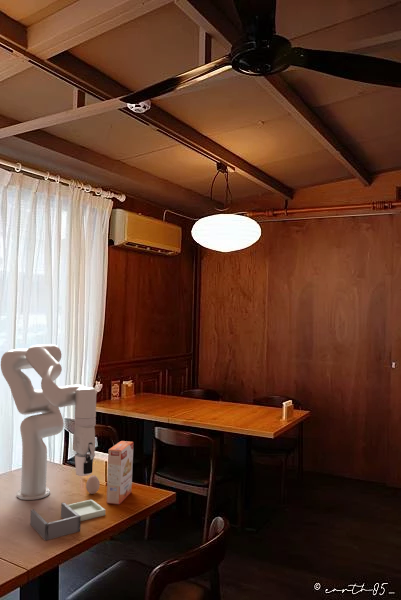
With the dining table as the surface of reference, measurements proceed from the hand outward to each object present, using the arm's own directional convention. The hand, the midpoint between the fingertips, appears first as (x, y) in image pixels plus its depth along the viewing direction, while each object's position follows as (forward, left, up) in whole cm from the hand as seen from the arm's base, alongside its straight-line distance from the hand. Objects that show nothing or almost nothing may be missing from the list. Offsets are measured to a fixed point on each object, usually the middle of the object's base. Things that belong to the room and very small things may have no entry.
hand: (84, 470), depth 180 cm
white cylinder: (0, 0, -1) cm, 1 cm away
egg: (-16, +11, -16) cm, 25 cm away
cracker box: (-6, +18, -16) cm, 25 cm away
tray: (0, 0, -16) cm, 16 cm away
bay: (+6, -13, -16) cm, 21 cm away
